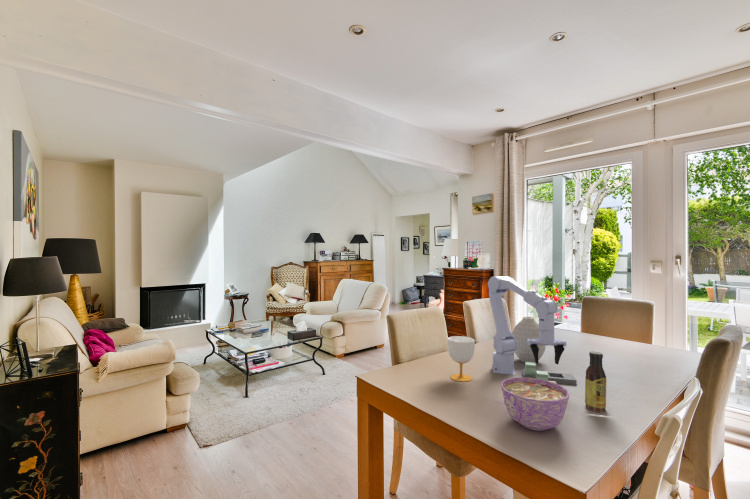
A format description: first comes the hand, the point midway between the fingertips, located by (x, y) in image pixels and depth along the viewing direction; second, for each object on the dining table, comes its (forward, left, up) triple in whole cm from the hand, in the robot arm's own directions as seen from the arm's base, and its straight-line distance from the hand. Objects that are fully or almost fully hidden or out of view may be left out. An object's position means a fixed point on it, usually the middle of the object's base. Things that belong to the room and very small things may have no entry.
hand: (546, 363), depth 144 cm
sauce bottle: (+13, -17, -10) cm, 24 cm away
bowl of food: (-9, -35, -10) cm, 38 cm away
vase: (-3, +36, -10) cm, 37 cm away
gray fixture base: (+2, +9, -10) cm, 14 cm away
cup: (-34, +1, -10) cm, 35 cm away
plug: (-2, -2, -9) cm, 10 cm away
